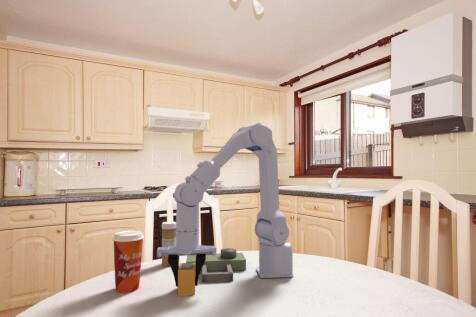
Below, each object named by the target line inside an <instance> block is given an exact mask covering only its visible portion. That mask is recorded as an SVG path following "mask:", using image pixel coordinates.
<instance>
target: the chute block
mask: <svg viewBox="0 0 476 317" xmlns="http://www.w3.org/2000/svg"><path fill="white" fill-rule="evenodd" d="M195 274H196V272H195V263H186V262H184V263H183V262H182V263H181V262H179V269H178V287H177V296H195V295H196V294H195V293H196V286H195Z"/></svg>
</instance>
